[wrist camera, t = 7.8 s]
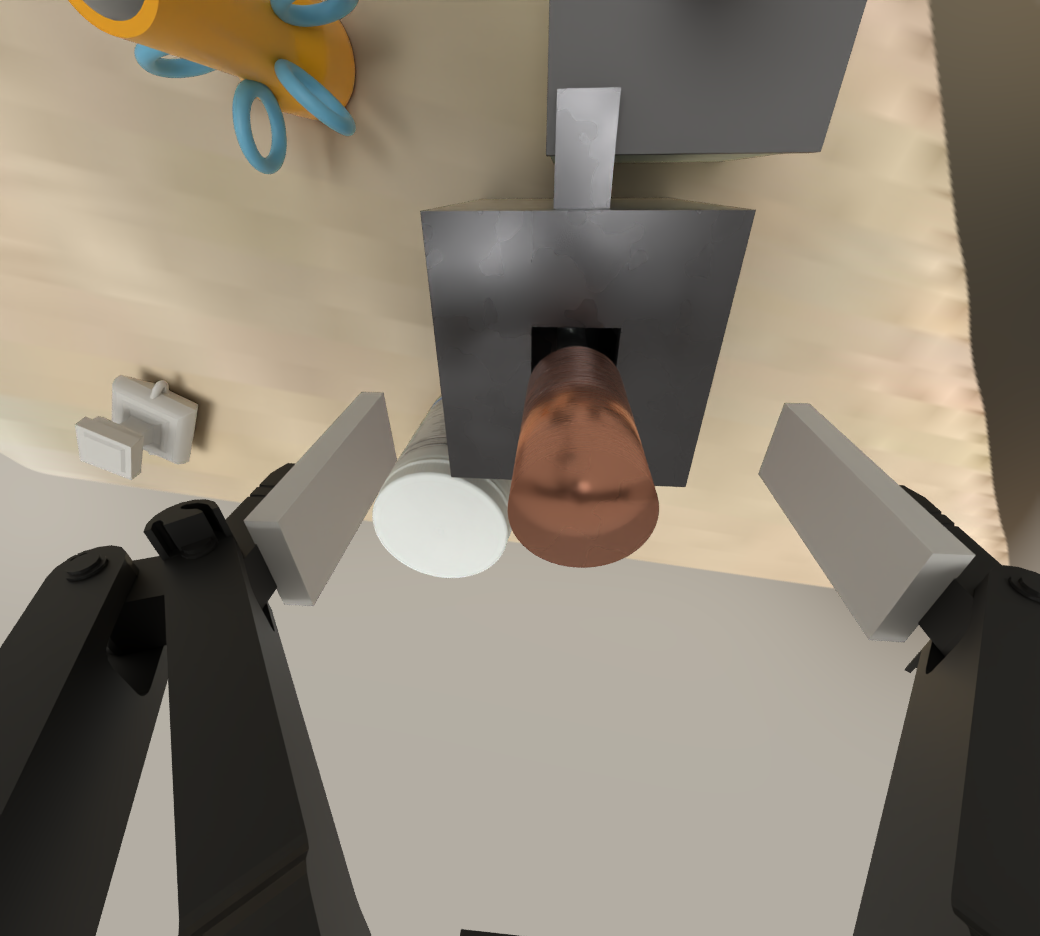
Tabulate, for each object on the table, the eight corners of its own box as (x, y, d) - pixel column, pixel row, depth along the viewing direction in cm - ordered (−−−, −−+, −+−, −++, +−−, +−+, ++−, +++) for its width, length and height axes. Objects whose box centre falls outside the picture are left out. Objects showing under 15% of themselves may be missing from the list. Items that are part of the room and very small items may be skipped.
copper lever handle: (539, 288, 26) (505, 447, 11) (605, 289, 26) (672, 453, 10) (538, 353, 29) (508, 563, 13) (599, 354, 28) (646, 571, 12)
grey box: (478, 129, 28) (405, 82, 15) (680, 125, 27) (790, 72, 14) (490, 373, 38) (450, 477, 24) (640, 377, 37) (685, 486, 24)
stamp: (142, 354, 40) (51, 390, 33) (215, 389, 41) (144, 432, 34) (139, 427, 44) (59, 474, 37) (205, 457, 46) (140, 507, 39)
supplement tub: (545, 447, 41) (538, 558, 29) (464, 483, 45) (427, 597, 32) (492, 361, 37) (457, 449, 25) (406, 408, 40) (339, 506, 28)
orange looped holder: (436, 64, 27) (327, -39, 14) (352, 207, 32) (215, 222, 19) (253, -145, 23) (-117, -536, 10) (188, 55, 28) (-120, -51, 15)
